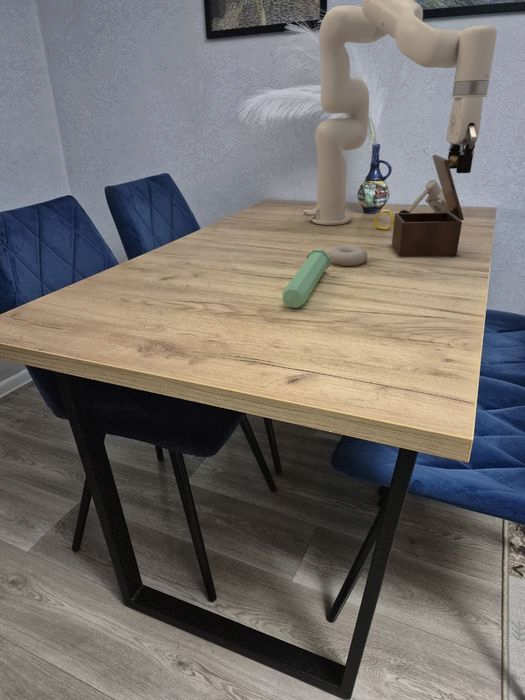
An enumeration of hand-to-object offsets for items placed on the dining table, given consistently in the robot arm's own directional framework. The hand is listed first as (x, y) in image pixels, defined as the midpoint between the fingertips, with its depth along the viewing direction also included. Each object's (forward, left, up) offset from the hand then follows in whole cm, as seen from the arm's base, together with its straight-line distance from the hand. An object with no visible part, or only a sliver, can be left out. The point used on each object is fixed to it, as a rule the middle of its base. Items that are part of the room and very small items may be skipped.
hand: (458, 170), depth 117 cm
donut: (-27, -9, -20) cm, 35 cm away
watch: (-13, +25, -20) cm, 35 cm away
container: (-38, -29, -20) cm, 52 cm away
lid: (-2, 0, -4) cm, 5 cm away
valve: (+3, +37, -20) cm, 42 cm away
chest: (-6, 0, -20) cm, 21 cm away
